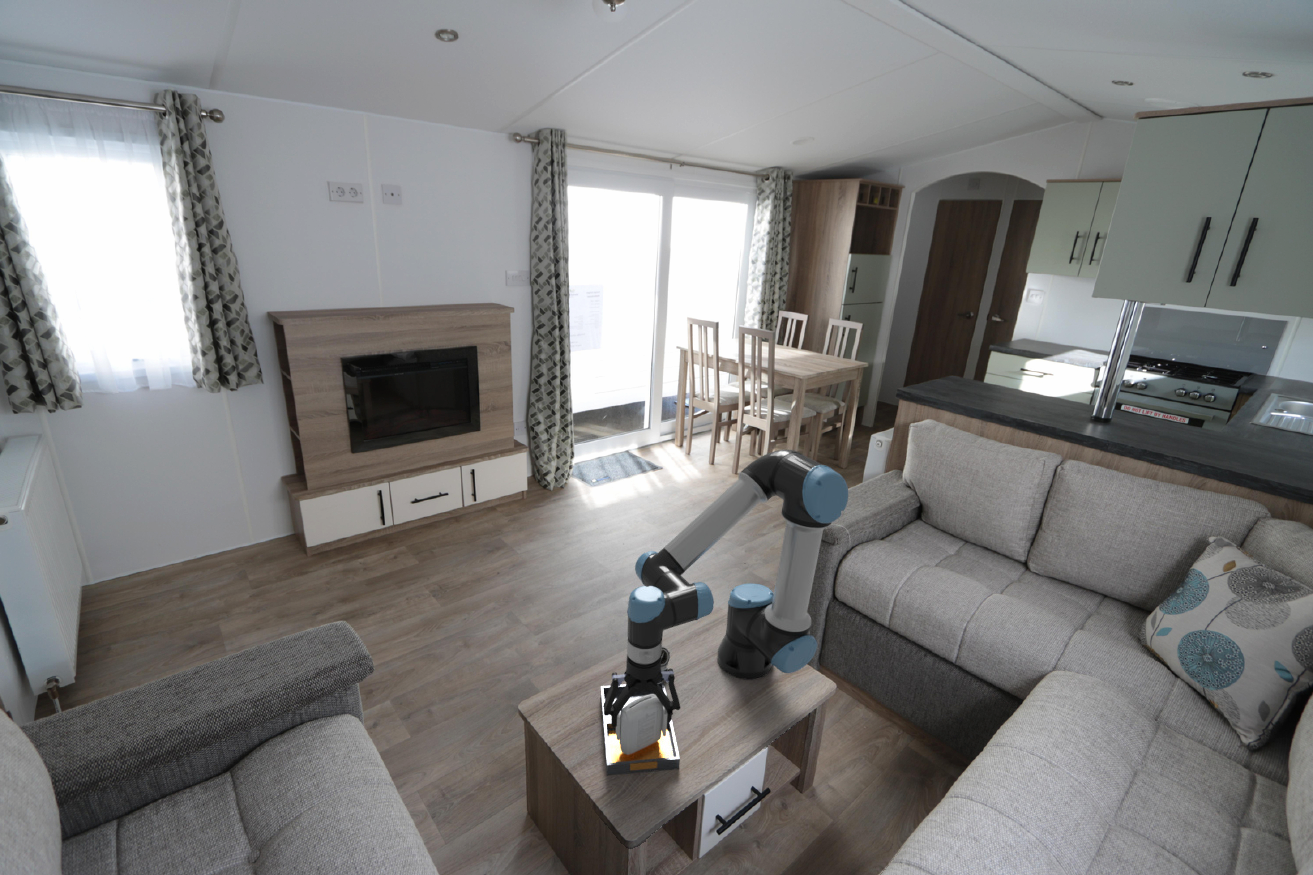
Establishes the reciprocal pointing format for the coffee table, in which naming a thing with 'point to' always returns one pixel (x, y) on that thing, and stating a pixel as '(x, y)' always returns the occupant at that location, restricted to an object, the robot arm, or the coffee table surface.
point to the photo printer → (640, 724)
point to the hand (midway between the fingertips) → (640, 733)
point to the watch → (664, 659)
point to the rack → (646, 759)
